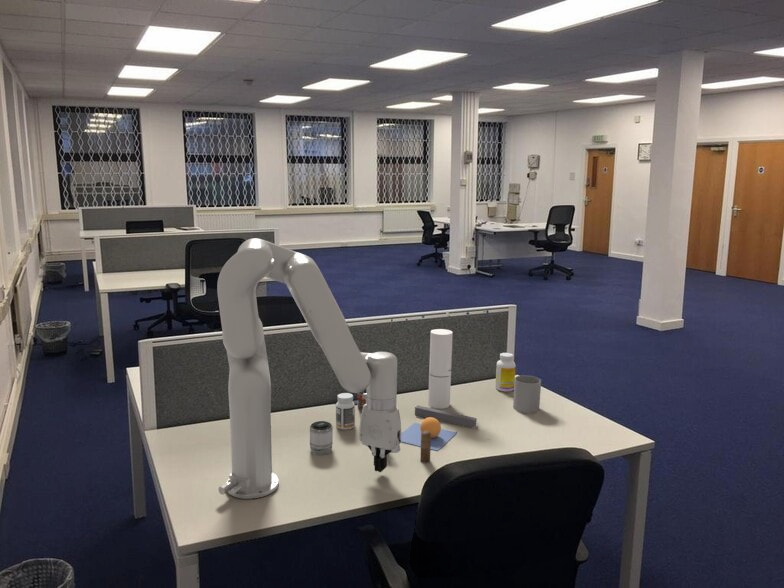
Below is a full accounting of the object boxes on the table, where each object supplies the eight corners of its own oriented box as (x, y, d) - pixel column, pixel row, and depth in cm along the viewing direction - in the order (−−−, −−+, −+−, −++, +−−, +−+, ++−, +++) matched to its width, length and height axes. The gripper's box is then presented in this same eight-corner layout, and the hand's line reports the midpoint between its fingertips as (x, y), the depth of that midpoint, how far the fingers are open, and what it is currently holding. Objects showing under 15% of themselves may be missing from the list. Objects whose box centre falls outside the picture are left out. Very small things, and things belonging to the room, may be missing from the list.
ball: (446, 420, 185) (442, 440, 184) (428, 416, 188) (424, 436, 187) (437, 419, 180) (432, 440, 179) (419, 414, 183) (414, 435, 182)
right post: (427, 463, 168) (428, 435, 166) (418, 461, 169) (419, 433, 167) (431, 459, 170) (432, 432, 168) (422, 457, 171) (423, 430, 170)
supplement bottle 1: (354, 410, 204) (354, 376, 201) (361, 403, 209) (361, 371, 207) (372, 412, 202) (372, 379, 199) (378, 406, 207) (378, 373, 205)
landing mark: (437, 451, 175) (437, 450, 175) (393, 440, 182) (393, 439, 182) (457, 433, 187) (457, 432, 187) (414, 423, 194) (414, 422, 194)
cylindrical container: (453, 403, 211) (456, 331, 206) (443, 410, 205) (446, 335, 200) (434, 399, 214) (437, 327, 209) (424, 405, 208) (426, 332, 203)
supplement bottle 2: (518, 390, 224) (520, 355, 222) (503, 393, 221) (505, 358, 218) (505, 384, 230) (507, 350, 227) (491, 387, 227) (493, 353, 224)
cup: (511, 411, 205) (513, 382, 203) (514, 402, 213) (516, 374, 211) (538, 414, 203) (540, 385, 201) (540, 405, 210) (542, 377, 208)
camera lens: (305, 449, 175) (305, 422, 173) (324, 443, 179) (324, 417, 177) (318, 457, 170) (317, 430, 169) (337, 451, 174) (337, 424, 173)
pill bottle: (356, 423, 193) (356, 392, 191) (353, 431, 188) (353, 399, 186) (337, 422, 194) (337, 391, 192) (334, 429, 188) (334, 398, 186)
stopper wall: (473, 428, 191) (474, 420, 191) (414, 414, 201) (415, 407, 200) (476, 425, 193) (476, 418, 192) (417, 412, 202) (417, 405, 202)
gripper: (347, 400, 158) (347, 468, 161) (400, 412, 151) (399, 483, 154) (363, 391, 164) (362, 457, 168) (414, 402, 157) (413, 470, 161)
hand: (380, 469), depth 161 cm, fingers closed
